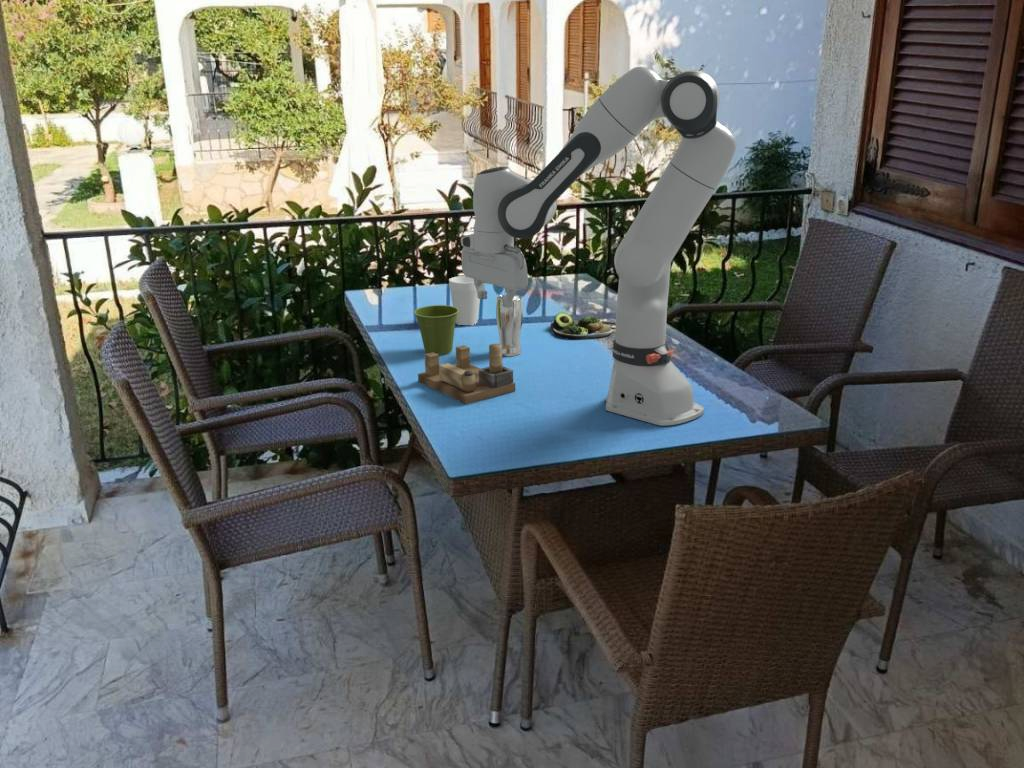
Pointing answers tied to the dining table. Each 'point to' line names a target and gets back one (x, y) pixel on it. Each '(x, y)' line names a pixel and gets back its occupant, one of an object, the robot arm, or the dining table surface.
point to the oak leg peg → (495, 358)
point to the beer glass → (509, 325)
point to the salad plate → (579, 327)
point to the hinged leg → (457, 377)
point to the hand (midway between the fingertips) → (494, 302)
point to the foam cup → (464, 299)
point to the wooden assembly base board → (484, 381)
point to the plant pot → (437, 327)
